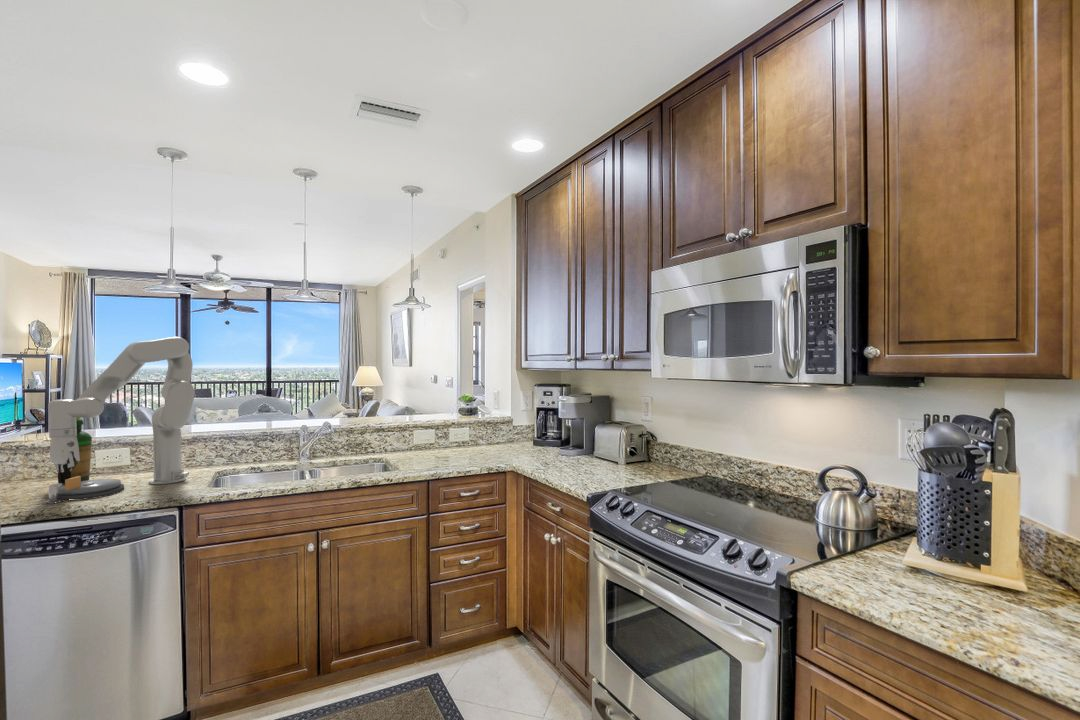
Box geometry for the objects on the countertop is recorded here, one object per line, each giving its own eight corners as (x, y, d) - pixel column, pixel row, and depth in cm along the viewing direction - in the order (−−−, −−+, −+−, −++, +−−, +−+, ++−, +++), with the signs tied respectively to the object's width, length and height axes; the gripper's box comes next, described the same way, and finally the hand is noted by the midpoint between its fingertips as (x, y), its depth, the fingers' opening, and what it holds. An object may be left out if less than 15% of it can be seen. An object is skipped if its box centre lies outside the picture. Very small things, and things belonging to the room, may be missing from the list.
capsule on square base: (52, 504, 183) (52, 486, 183) (42, 504, 184) (42, 486, 184) (66, 500, 188) (66, 483, 188) (56, 500, 188) (56, 482, 188)
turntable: (86, 482, 208) (86, 468, 208) (133, 482, 208) (133, 468, 208) (39, 494, 189) (39, 479, 189) (91, 495, 189) (91, 479, 189)
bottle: (71, 489, 205) (71, 417, 205) (49, 487, 207) (49, 417, 207) (99, 482, 215) (98, 414, 215) (78, 481, 218) (78, 414, 218)
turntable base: (138, 487, 208) (138, 483, 208) (86, 501, 187) (86, 497, 187) (90, 485, 210) (90, 482, 210) (34, 499, 189) (34, 495, 189)
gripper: (86, 432, 193) (88, 481, 194) (64, 430, 199) (65, 478, 200) (61, 435, 187) (63, 486, 187) (39, 433, 192) (40, 483, 193)
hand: (64, 482), depth 193 cm, fingers closed
